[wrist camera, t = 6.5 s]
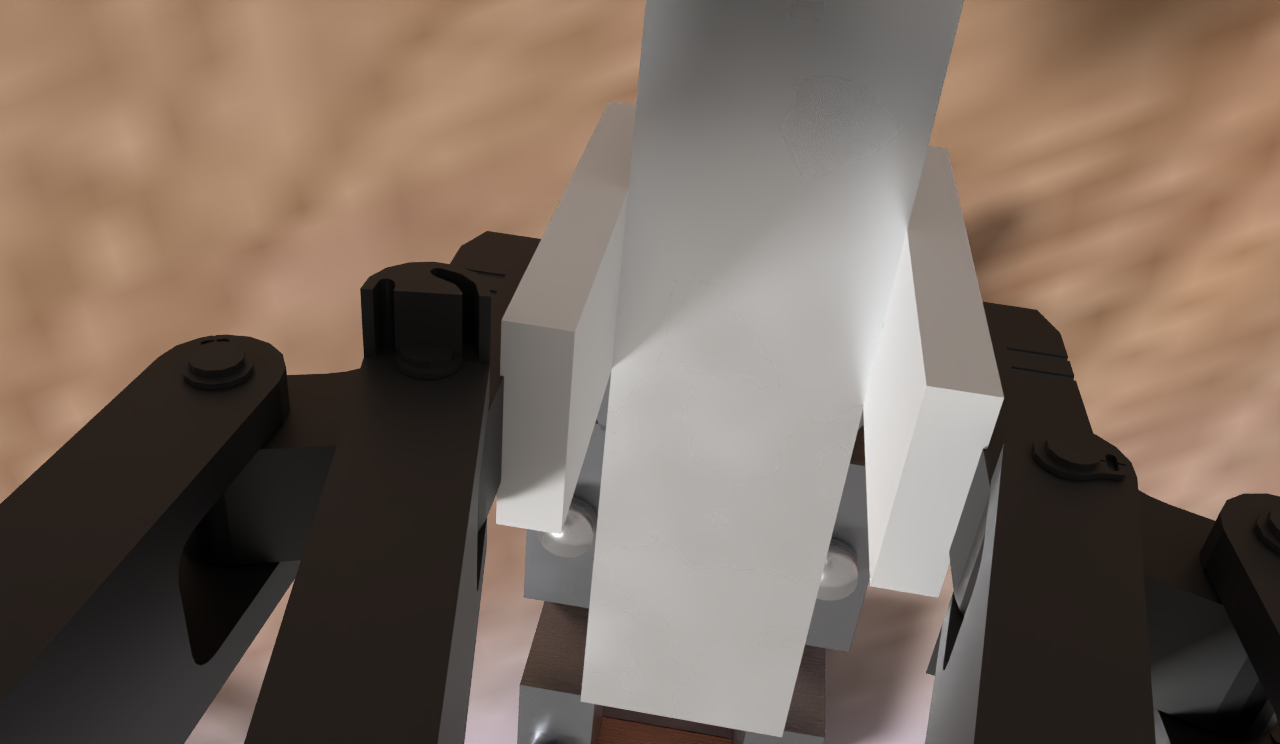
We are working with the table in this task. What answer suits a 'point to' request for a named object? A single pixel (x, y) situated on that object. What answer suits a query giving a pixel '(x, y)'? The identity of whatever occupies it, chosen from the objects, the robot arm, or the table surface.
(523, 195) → the table surface
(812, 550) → the link bar
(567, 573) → the dark grey blocks
